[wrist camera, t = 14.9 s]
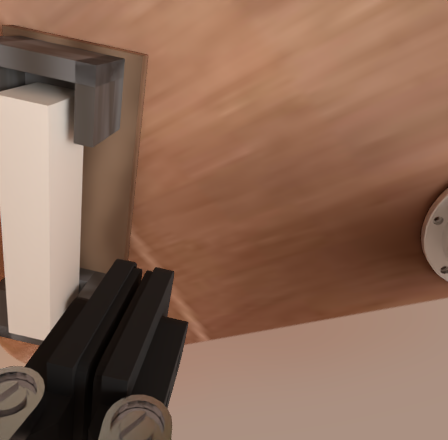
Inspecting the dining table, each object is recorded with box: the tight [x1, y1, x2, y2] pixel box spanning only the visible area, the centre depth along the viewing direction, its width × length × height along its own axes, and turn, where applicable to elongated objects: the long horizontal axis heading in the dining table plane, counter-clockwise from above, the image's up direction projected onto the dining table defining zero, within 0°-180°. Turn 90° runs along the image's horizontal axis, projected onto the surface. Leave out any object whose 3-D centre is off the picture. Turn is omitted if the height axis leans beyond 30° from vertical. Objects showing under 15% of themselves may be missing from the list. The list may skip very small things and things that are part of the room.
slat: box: [0, 82, 83, 341], centre depth 35 cm, size 22×4×6 cm, turn 169°
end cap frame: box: [0, 25, 148, 345], centre depth 38 cm, size 12×29×8 cm, turn 169°
